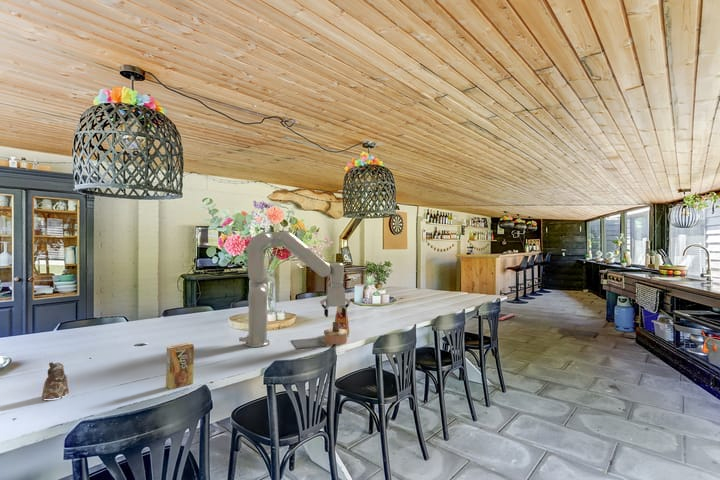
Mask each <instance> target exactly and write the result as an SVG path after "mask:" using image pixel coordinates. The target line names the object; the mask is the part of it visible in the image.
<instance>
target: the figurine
mask: <svg viewBox="0 0 720 480" xmlns="http://www.w3.org/2000/svg"><path fill="white" fill-rule="evenodd" d="M48 366H49V368H48V370H47V377H46V379H45V380H44V384H43V388H42V395H41V397H42V400H43V399H54V398H59V397H62V396H65V395H66V394H68V393H69V388H68V378H67V376H68V375H67V374H66V373H65V368H64V365H63V363H60V362H55V363H54V362H52V361H51V362H49V363H48ZM68 395H69V394H68Z"/></svg>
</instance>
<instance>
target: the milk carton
mask: <svg viewBox="0 0 720 480" xmlns="http://www.w3.org/2000/svg"><path fill="white" fill-rule="evenodd" d="M336 307H337V308H336V313H335V315H334V322H339V329H345V330H347V331H348V333H347V338H348V337H350V323H349V314H348V307H347V308H346V312H345V316H344V317H343V316H342V308H343V307H342V306H336Z"/></svg>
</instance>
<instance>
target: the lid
mask: <svg viewBox="0 0 720 480" xmlns="http://www.w3.org/2000/svg"><path fill="white" fill-rule="evenodd" d="M347 333H348V331H347V330H345V329H339V322H335V321H333V322H332V328H328V329H324V331H323V334H324V335H325V334H326V335H330V336H342V335H346V334H347Z"/></svg>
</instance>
